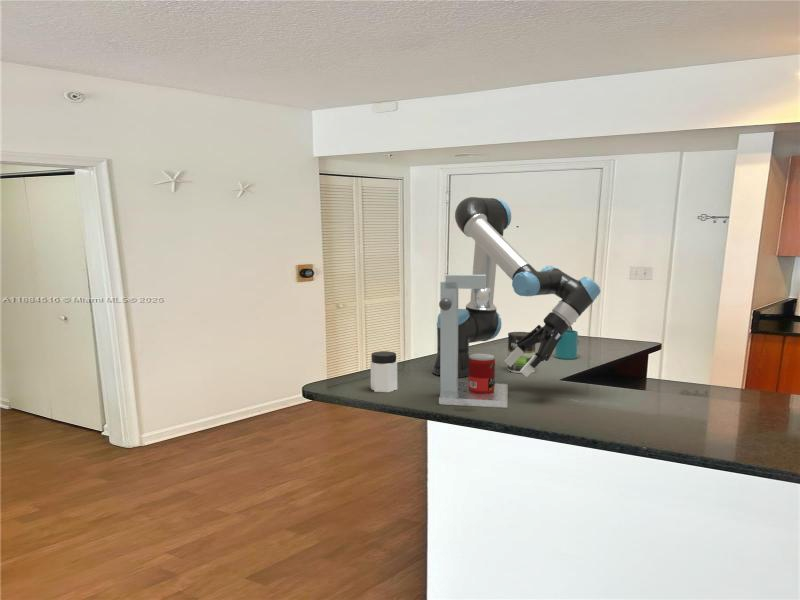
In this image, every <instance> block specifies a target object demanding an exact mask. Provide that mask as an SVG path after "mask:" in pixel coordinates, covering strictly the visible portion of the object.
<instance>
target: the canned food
mask: <svg viewBox="0 0 800 600" xmlns="http://www.w3.org/2000/svg"><path fill="white" fill-rule="evenodd" d="M495 372H496V357H495V355H493V354H488V353H473V354H469V376H468V382H469V390H470V391H471V392H473V393H479V394H487V393H492V392H493V391H494V386H495V384H496V382H495V380H496V378H495V376H496V373H495Z"/></svg>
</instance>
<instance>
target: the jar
mask: <svg viewBox="0 0 800 600" xmlns="http://www.w3.org/2000/svg"><path fill="white" fill-rule="evenodd" d="M370 357H371V358H370V359H371V360H370V389H371V390H372V391H373V390H374V391H373V392H375V393H391V392H395V391H398V361H397V353H396V352H395V351H390V350H389V351H386V350H383V351H381V350H380V351H374V352H372V353H371V356H370ZM394 390H395V391H394Z"/></svg>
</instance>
